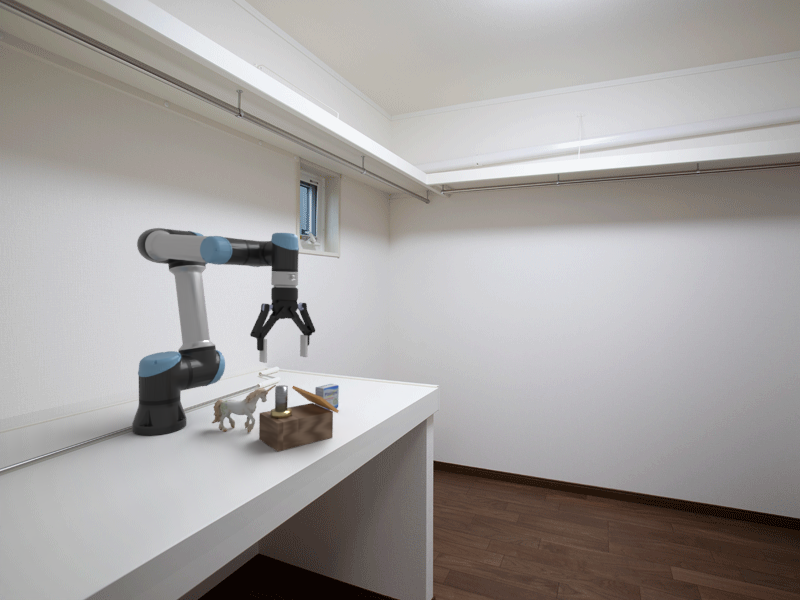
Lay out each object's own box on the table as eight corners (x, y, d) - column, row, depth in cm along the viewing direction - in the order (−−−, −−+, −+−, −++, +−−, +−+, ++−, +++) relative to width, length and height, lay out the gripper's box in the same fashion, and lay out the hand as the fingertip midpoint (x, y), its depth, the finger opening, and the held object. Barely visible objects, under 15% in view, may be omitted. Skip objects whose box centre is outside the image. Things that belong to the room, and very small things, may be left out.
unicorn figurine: (275, 432, 139) (275, 389, 138) (208, 436, 134) (208, 392, 133) (275, 424, 146) (276, 384, 145) (212, 428, 141) (212, 386, 140)
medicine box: (323, 412, 161) (323, 388, 160) (314, 409, 163) (315, 386, 163) (338, 407, 167) (339, 384, 166) (330, 405, 170) (330, 383, 169)
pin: (276, 444, 126) (276, 390, 125) (266, 438, 130) (267, 386, 130) (295, 439, 130) (295, 387, 129) (285, 433, 134) (286, 383, 134)
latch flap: (320, 399, 128) (321, 397, 129) (291, 387, 141) (293, 385, 141) (337, 413, 133) (338, 410, 133) (308, 400, 145) (310, 398, 146)
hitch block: (277, 451, 123) (277, 423, 123) (259, 439, 132) (259, 412, 132) (332, 437, 135) (332, 411, 135) (312, 427, 144) (312, 403, 144)
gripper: (251, 286, 117) (251, 366, 118) (327, 287, 135) (326, 356, 136) (237, 286, 122) (237, 362, 123) (312, 286, 140) (311, 353, 141)
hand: (284, 359), depth 129 cm, fingers open, 13 cm apart
